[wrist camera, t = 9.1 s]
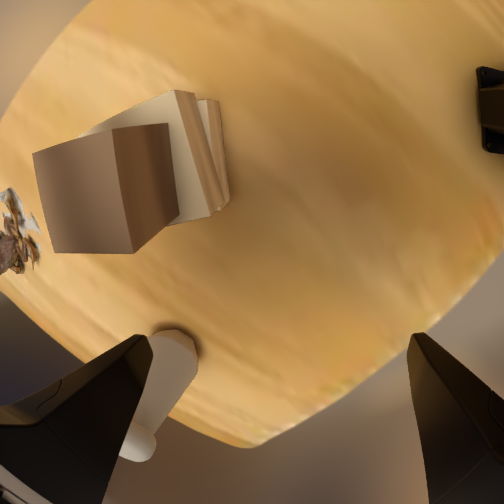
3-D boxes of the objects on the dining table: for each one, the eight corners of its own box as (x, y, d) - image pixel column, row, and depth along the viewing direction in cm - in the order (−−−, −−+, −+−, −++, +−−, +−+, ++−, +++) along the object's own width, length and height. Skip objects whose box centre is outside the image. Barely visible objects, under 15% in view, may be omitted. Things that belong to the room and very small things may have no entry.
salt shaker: (141, 323, 28) (73, 422, 16) (190, 318, 26) (127, 436, 15) (166, 365, 30) (116, 462, 18) (213, 363, 28) (170, 476, 17)
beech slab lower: (219, 101, 18) (206, 99, 16) (231, 198, 21) (220, 210, 19) (132, 119, 20) (110, 121, 17) (147, 205, 23) (127, 218, 20)
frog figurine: (36, 297, 31) (18, 312, 28) (-11, 230, 28) (-31, 241, 25) (63, 250, 27) (40, 267, 23) (8, 171, 24) (-16, 180, 20)
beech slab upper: (194, 93, 16) (173, 89, 13) (224, 201, 18) (210, 216, 16) (104, 131, 17) (76, 136, 15) (134, 223, 20) (111, 240, 17)
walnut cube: (168, 122, 14) (111, 129, 9) (179, 214, 16) (133, 253, 11) (94, 138, 15) (32, 153, 10) (107, 218, 17) (54, 253, 12)
